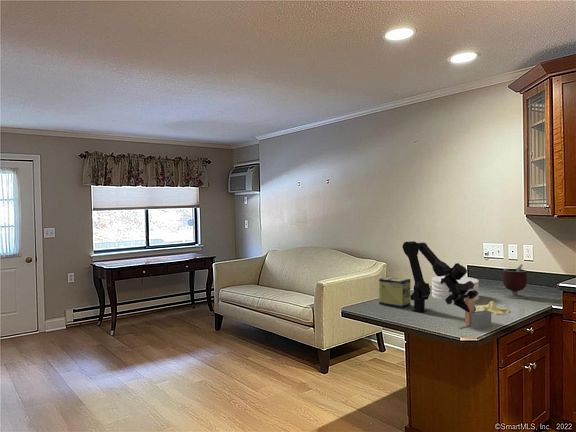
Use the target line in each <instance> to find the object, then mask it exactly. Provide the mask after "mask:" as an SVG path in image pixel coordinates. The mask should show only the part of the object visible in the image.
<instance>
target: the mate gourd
mask: <svg viewBox="0 0 576 432" xmlns="http://www.w3.org/2000/svg"><path fill="white" fill-rule="evenodd" d="M522 267H523V264H520V265H518V267H517V268H504V269H503V271H502V284H503V286H504V287H505V288H506V289H507V290H510V291H511V293H504V295H503V297H505V298H508V299H515V300H523V299H526V295H524V294H519V293H518V292H520V291H522V290H524V289H525V288H526V286H527V284H528V273H527V270H526V269H523V268H522Z"/></svg>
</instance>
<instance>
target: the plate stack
mask: <svg viewBox="0 0 576 432" xmlns="http://www.w3.org/2000/svg"><path fill="white" fill-rule="evenodd" d="M444 277H445V276H437V275H436V276H433V277H431V285H432V286H431V297H432V298H434V299H437V300H441V301H444V302H446V298H447V297H448V296H449V295H450V294H452V292H450V293H449V288H448V287H447V285H446V284H445V283H443V284H441V283H440V282H441V278H444ZM457 281H458V283H459V284H460V283H461V284H465V283H467V282H469V281H472V282H473V284H474V287H473V289H469V290H468V292H469V291H471V290H476V291H477V292H478V295H477V296H476V297H475V298H473V299H475V301H478V300H479V298H480V296H479V295H480V292H479V290H480V288H479V283H480V281H479V279H478V278H475V277H474V278H473V277H468V276H463V277H462V278H461V279H460V280H457ZM468 292H466V294H467V293H468ZM452 302H454V300H452ZM464 302H465V300H464Z"/></svg>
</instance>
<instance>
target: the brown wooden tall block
mask: <svg viewBox="0 0 576 432" xmlns="http://www.w3.org/2000/svg"><path fill="white" fill-rule="evenodd" d="M465 303H466V305H467V307H468V308H469V310H470V312H467V311H465V310H464V323H465V325H469V324H472V313H474V312H475V309H476V306H475V305H476V304H475V299H471V298H469V299H465Z"/></svg>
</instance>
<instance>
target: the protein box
mask: <svg viewBox="0 0 576 432" xmlns="http://www.w3.org/2000/svg"><path fill="white" fill-rule="evenodd" d="M411 281H412V280H411V279H410V278H402V277H394V276H386V277H381V278H379V280H378V282H379V284H378V286H379V287H378V288H379V289H378V292H379V293H378V294H379V295H378V297H379V299H378V305H381V304H382V306H387V307H388V306H389V307H392V308H399V309H404V308H407V307H408V306H411V303H412V302H411V298H410V296H411Z"/></svg>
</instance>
